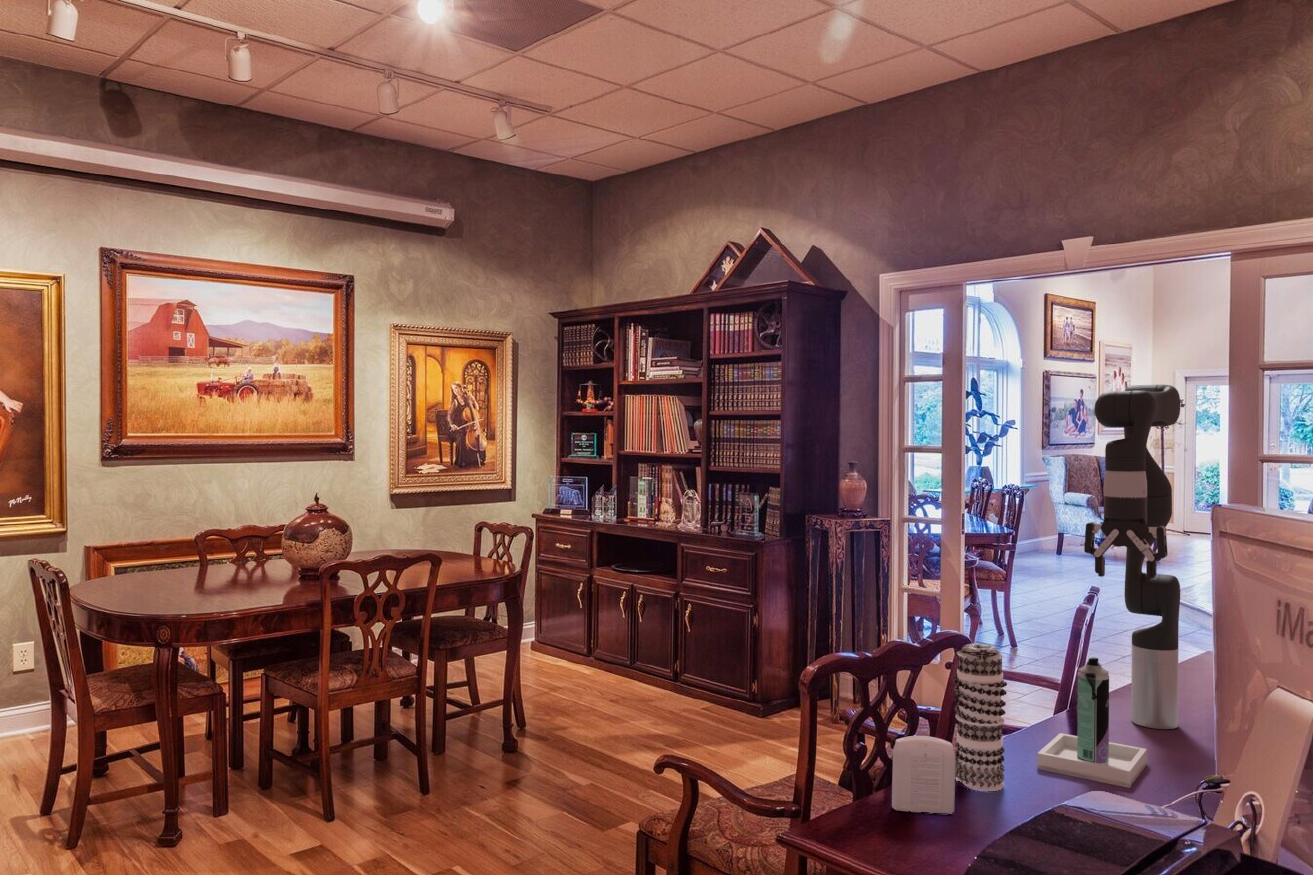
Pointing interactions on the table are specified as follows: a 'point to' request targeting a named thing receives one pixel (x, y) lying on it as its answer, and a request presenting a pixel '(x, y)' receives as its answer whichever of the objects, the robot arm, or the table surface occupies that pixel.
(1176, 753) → the table surface
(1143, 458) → the robot arm
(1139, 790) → the table surface
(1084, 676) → the spray can
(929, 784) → the white rounded block
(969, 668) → the decorative candle
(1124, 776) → the tray
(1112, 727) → the table surface
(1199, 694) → the table surface
